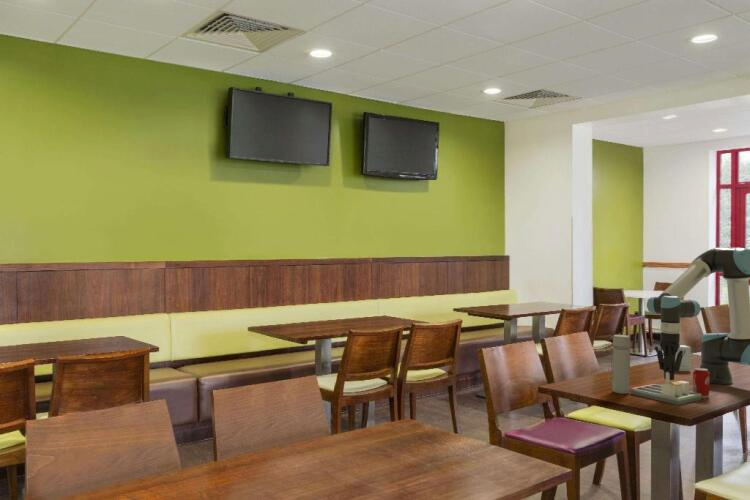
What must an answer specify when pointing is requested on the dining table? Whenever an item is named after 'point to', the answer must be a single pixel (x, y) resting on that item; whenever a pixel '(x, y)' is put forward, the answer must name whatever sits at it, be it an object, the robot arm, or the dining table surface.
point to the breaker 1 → (668, 389)
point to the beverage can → (701, 382)
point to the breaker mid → (677, 388)
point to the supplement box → (685, 358)
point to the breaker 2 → (685, 386)
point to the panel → (655, 393)
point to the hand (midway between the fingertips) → (669, 387)
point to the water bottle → (620, 364)
